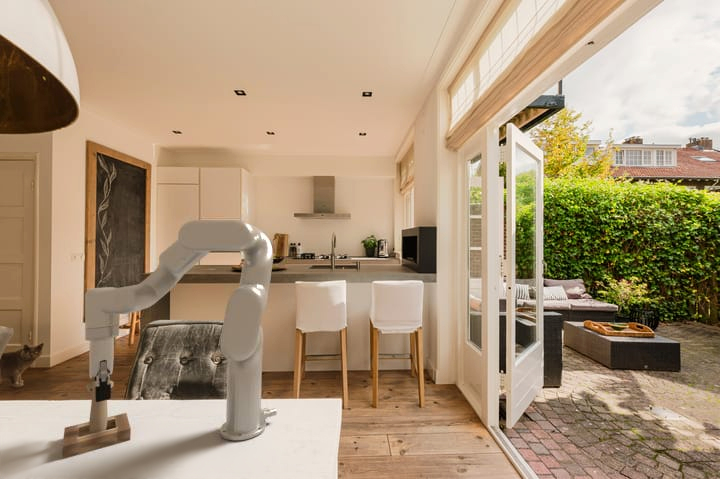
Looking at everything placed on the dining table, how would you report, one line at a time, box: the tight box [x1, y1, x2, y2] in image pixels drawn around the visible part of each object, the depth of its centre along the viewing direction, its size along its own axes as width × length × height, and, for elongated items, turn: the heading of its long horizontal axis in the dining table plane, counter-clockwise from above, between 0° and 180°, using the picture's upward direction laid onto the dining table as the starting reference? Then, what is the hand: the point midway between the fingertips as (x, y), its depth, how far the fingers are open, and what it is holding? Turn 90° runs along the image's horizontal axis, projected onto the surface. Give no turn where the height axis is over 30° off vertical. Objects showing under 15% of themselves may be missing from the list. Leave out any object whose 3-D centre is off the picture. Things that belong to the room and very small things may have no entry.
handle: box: [85, 380, 114, 434], centre depth 93 cm, size 5×6×15 cm
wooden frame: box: [61, 412, 132, 460], centre depth 92 cm, size 14×12×3 cm
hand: (102, 394), depth 93 cm, fingers open, 9 cm apart
